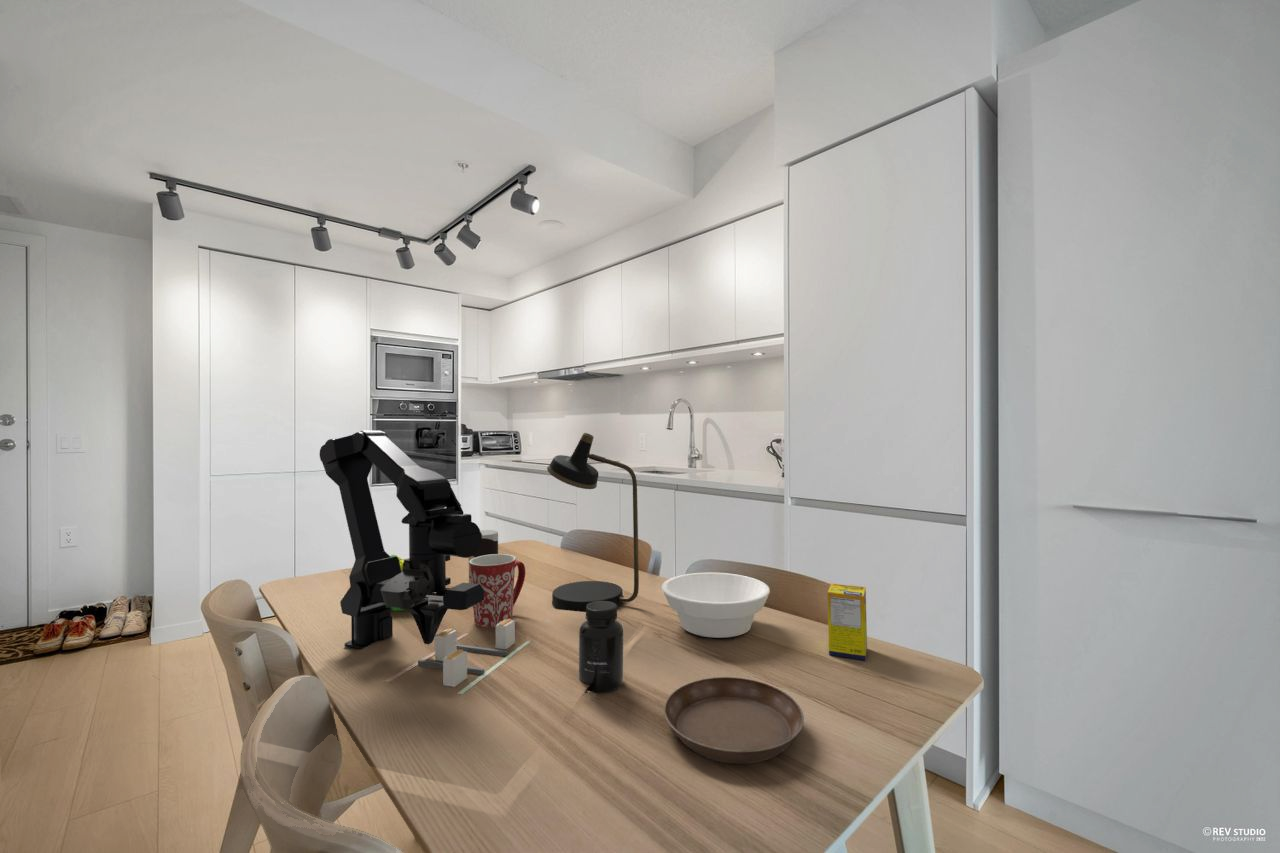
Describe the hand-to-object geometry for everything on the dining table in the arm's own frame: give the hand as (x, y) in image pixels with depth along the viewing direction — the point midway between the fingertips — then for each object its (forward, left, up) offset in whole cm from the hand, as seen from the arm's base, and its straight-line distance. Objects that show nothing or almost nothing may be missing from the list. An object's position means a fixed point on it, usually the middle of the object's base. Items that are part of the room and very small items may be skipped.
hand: (428, 643), depth 90 cm
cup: (-12, +34, -3) cm, 36 cm away
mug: (+2, +19, -3) cm, 19 cm away
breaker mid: (+3, 0, -2) cm, 4 cm away
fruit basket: (-26, +24, -3) cm, 36 cm away
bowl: (+44, +29, -3) cm, 53 cm away
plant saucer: (+52, -6, -4) cm, 52 cm away
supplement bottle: (+31, +1, -3) cm, 31 cm away
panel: (+7, 0, -3) cm, 8 cm away
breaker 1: (+10, -7, -2) cm, 13 cm away
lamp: (+15, +37, -3) cm, 40 cm away
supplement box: (+68, +24, -3) cm, 72 cm away
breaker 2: (+10, +7, -2) cm, 13 cm away
